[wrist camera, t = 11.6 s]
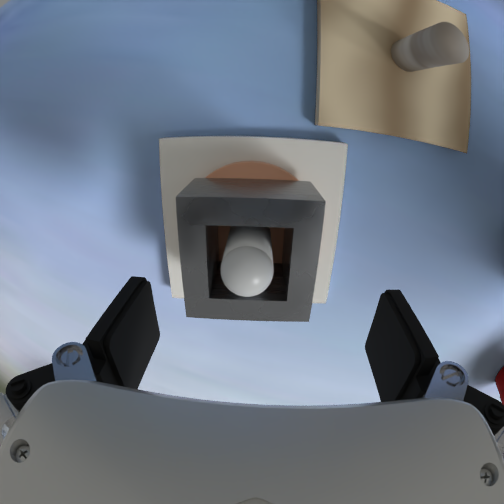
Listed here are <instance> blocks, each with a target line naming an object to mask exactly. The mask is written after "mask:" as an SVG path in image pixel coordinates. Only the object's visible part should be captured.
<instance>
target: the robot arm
mask: <svg viewBox="0 0 504 504" xmlns="http://www.w3.org/2000/svg"><path fill="white" fill-rule="evenodd" d="M159 337H160V331H159V326H158V321H157V316H156V311H155V306H154V301H153V295H152V289H151V284H150V282H149V281H147V280H146V278H145V277H131V278H130V279H129V280H128V282H127V283H126V284H125V285H124V287H123V288H122V289H121V291H120V292H119V293H118V295H117V296H116V297H115V299H114V300H113V301H112V303H111V304H110V305H109V307H108V308H107V309H106V311H105V312H104V314H103V315H102V316H101V318H100V319H99V320H98V322H97V323H96V325H95V326H94V327H93V329H92V330H91V332H90V333H89V335H88V336H87V337H86V340H85V341H84V343H83V344H80V343H77V342H70V343H66V344H63V345H61V346H60V347H58V348H57V349H56V350H55V352H54V353H53V356H52V363H51V364H49V365H46V366H43V367H40V368H38V369H35V370H32V371H29V372H27V373H24V374H21V375H18V376H16V377H14V378H13V379H12V380H11V381H10V382H9V383H8V385H7V387H6V394H4V395H3V394H2V393H0V504H504V405H503V404H502V403H501V402H500V401H498V400H496V399H494V398H492V397H490V396H488V395H486V394H484V393H482V392H480V391H479V390H477V389H475V388H473V387H471V386H469V385H468V374H467V372H466V371H465V369H464V368H463V367H462V366H460V365H459V364H457V363H455V362H451V361H445V362H442V363H440V361H439V359H438V357H439V356H438V354H437V352H436V351H435V349H434V347H433V345H432V343H431V341H430V340H429V338H428V336H427V334H426V333H425V331H424V329H423V327H422V326H421V324H420V322H419V320H418V319H417V317H416V315H415V314H414V312H413V310H412V309H411V307H410V305H409V304H408V302H407V300H406V299H405V297H404V296H403V294H402V292H401V291H400V290H386V291H385V293H382V294H381V296H380V299H379V303H378V306H377V309H376V313H375V316H374V319H373V322H372V325H371V328H370V331H369V334H368V337H367V340H366V344H365V350H366V353H367V357H368V360H369V363H370V366H371V369H372V373H373V376H374V379H375V382H376V386H377V389H378V393H379V396H380V400H381V402H376V403H363V404H348V405H322V406H284V405H258V404H242V403H230V402H219V401H209V400H201V399H193V398H186V397H179V396H172V395H166V394H160V393H154V392H149V391H143V390H138V386H139V384H140V382H141V379H142V377H143V375H144V372H145V370H146V368H147V366H148V363H149V361H150V359H151V356H152V354H153V352H154V350H155V347H156V345H157V343H158V341H159Z"/></svg>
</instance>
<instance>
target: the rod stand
mask: <svg viewBox="0 0 504 504" xmlns="http://www.w3.org/2000/svg"><path fill="white" fill-rule="evenodd" d="M470 110H471V62H470V46H469V35H468V26H467V18H466V14H464V13H462V12H460V11H458V10H456V9H454V8H452V7H450V6H448V5H446V4H443V3H441V2H439V1H437V0H317V85H316V111H315V125H319V126H328V127H337V128H345V129H353V130H360V131H367V132H373V133H379V134H385V135H391V136H396V137H401V138H406V139H411V140H416V141H420V142H425V143H429V144H434V145H438V146H442V147H446V148H449V149H453V150H457V151H461V152H464V153H467V148H468V139H469V127H470Z"/></svg>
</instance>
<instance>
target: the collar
mask: <svg viewBox="0 0 504 504" xmlns="http://www.w3.org/2000/svg"><path fill="white" fill-rule="evenodd" d="M325 204H326V201H325V200H324V198H323V197H322V196H321V195H320V193H319V192H318V191H317V189H316V188H315V187H314V185H313V184H312V183H311V182H310V181H294V180H274V179H244V178H194V179H193V180H192V181H191V182H190V183H189V184H188V185H187V186H186V187H185V188H184V189H183V190H182V191H181V192H180V193H179V194H178V195H177V196H176V213H177V228H178V241H179V252H180V263H181V273H182V283H183V292H184V301H185V309H186V317H194V318H210V319H229V320H253V321H304V322H309V318H310V312H311V306H312V300H313V294H314V287H315V281H316V274H317V267H318V260H319V253H320V246H321V238H322V230H323V221H324V213H325ZM218 226H249V227H278V228H284V241H283V254H282V263H273V267H274V273H273V278H272V281H271V283H270V284H269V286H268V287H267V288H266V289H265V290H264V291H263V292H261V293H260V294H258V295H255V296H250V297H243V296H239V295H236V294H234V293H233V292H231V291H230V290H229V289H228V288H227V287H226V286H225V284H224V282H223V280H222V277H221V263H222V261H219V245H218Z"/></svg>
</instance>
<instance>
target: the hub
mask: <svg viewBox="0 0 504 504" xmlns="http://www.w3.org/2000/svg"><path fill="white" fill-rule="evenodd" d="M347 148H348V144H346V143H343V142H334V141H324V140H313V139H301V138H285V137H265V136H186V137H165V138H161V139H159V153H160V176H161V193H162V207H163V220H164V231H165V242H166V251H167V260H168V269H169V277H170V285H171V292H172V298H184V292H183V283H182V273H181V263H180V252H179V241H178V228H177V213H176V196H177V195H178V194H179V193H180V192H181V191H182V190H183V189H184V188H185V187H186V186H187V185H188V184H189V183H190V182H191V181H192V180H193V179H194V178H244V179H274V180H294V181H310V182H311V183H312V184H313V185H314V187H315V188H316V189H317V191H318V192H319V193H320V195H321V196H322V197H323V198H324V200H325V201H326V204H325V213H324V221H323V230H322V238H321V246H320V253H319V260H318V267H317V274H316V281H315V287H314V294H313V300H312V303H326V300H327V295H328V290H329V284H330V279H331V273H332V267H333V261H334V255H335V249H336V242H337V235H338V228H339V221H340V214H341V206H342V197H343V189H344V180H345V170H346V159H347ZM283 241H284V228H278V227H249V226H218V245H219V261H222V263H221V277H222V280H223V282H224V284H225V286H226V287H227V288H228V289H229V290H230V291H231V292H233V293H234V294H236V295H239V296H243V297H250V296H255V295H258V294H260V293H261V292H263V291H264V290H265V289H266V288H267V287H268V286H269V284H270V283H271V281H272V278H273V273H274V267H273V263H282V254H283Z"/></svg>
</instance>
